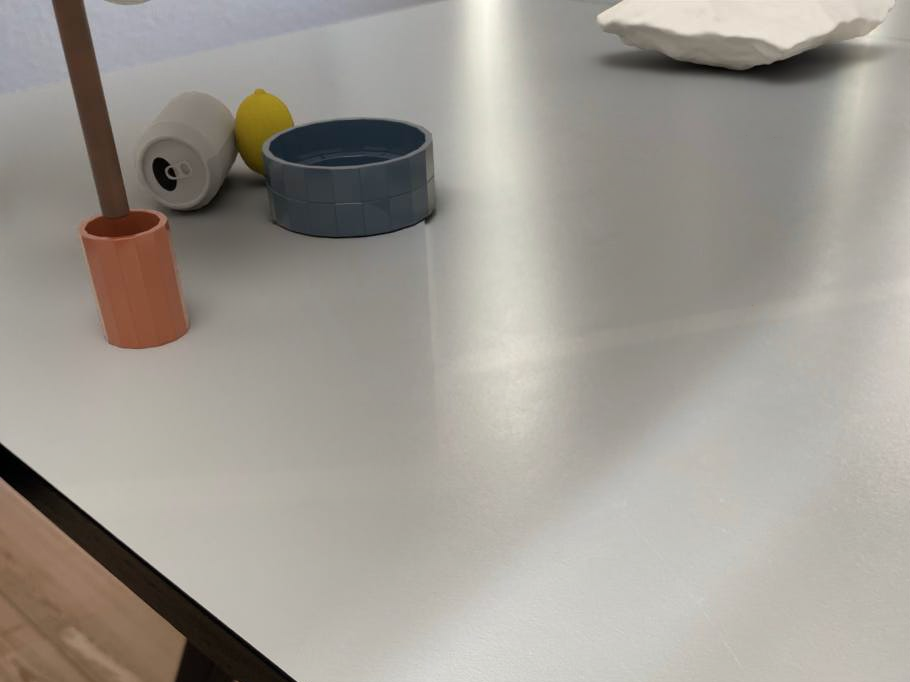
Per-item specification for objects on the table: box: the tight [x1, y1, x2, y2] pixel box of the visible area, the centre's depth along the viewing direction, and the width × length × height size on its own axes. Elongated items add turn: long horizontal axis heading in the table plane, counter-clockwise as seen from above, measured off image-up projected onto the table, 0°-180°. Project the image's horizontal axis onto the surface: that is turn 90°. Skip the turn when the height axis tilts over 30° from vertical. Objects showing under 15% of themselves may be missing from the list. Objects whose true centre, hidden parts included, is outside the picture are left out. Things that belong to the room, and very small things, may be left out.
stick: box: [50, 0, 131, 219], centre depth 67 cm, size 2×2×20 cm
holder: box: [76, 208, 191, 350], centre depth 77 cm, size 6×6×8 cm
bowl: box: [261, 116, 437, 238], centre depth 95 cm, size 14×14×6 cm
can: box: [133, 91, 239, 212], centre depth 100 cm, size 8×8×12 cm
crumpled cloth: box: [596, 0, 897, 71], centre depth 130 cm, size 24×35×9 cm
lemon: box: [234, 88, 296, 179], centre depth 102 cm, size 6×6×8 cm
